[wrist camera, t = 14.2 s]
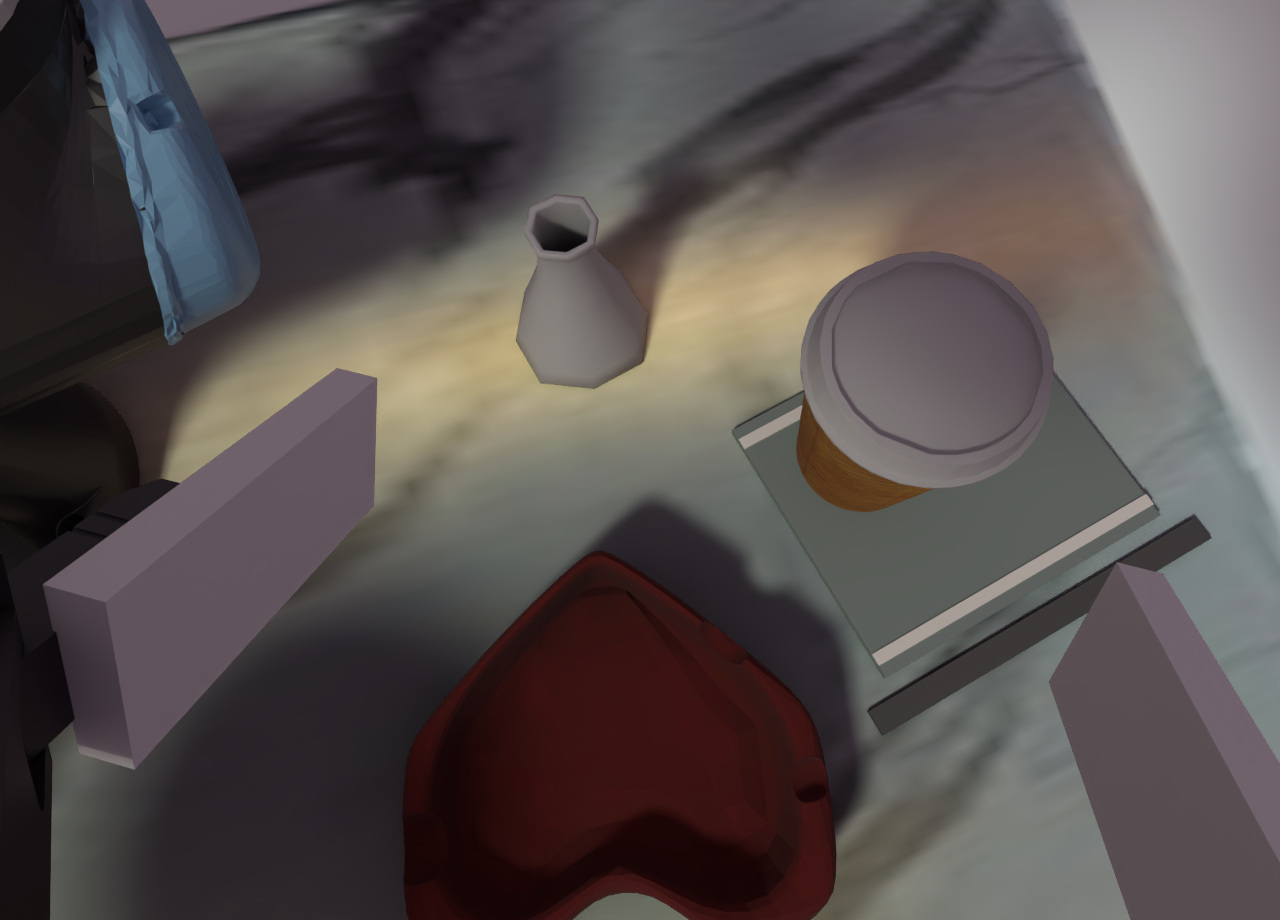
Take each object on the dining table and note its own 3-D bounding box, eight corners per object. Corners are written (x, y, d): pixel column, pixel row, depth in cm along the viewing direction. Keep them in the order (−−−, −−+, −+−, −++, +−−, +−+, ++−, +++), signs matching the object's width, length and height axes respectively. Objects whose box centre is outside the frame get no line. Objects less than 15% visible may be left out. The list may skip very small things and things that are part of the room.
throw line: (867, 711, 39) (868, 711, 39) (1192, 518, 42) (1195, 516, 41) (881, 735, 39) (883, 735, 39) (1208, 539, 41) (1211, 538, 41)
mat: (731, 432, 44) (732, 429, 43) (987, 296, 46) (991, 291, 45) (883, 678, 40) (886, 677, 39) (1156, 517, 42) (1161, 514, 41)
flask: (506, 284, 47) (465, 170, 37) (635, 259, 47) (627, 140, 37) (527, 404, 44) (490, 316, 35) (662, 377, 45) (661, 283, 35)
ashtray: (782, 550, 42) (798, 528, 37) (833, 916, 37) (858, 944, 32) (424, 582, 42) (394, 563, 37) (427, 952, 37) (392, 985, 32)
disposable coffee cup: (947, 368, 44) (1054, 244, 32) (958, 549, 41) (1079, 484, 30) (763, 360, 44) (805, 235, 33) (763, 540, 41) (807, 472, 30)
